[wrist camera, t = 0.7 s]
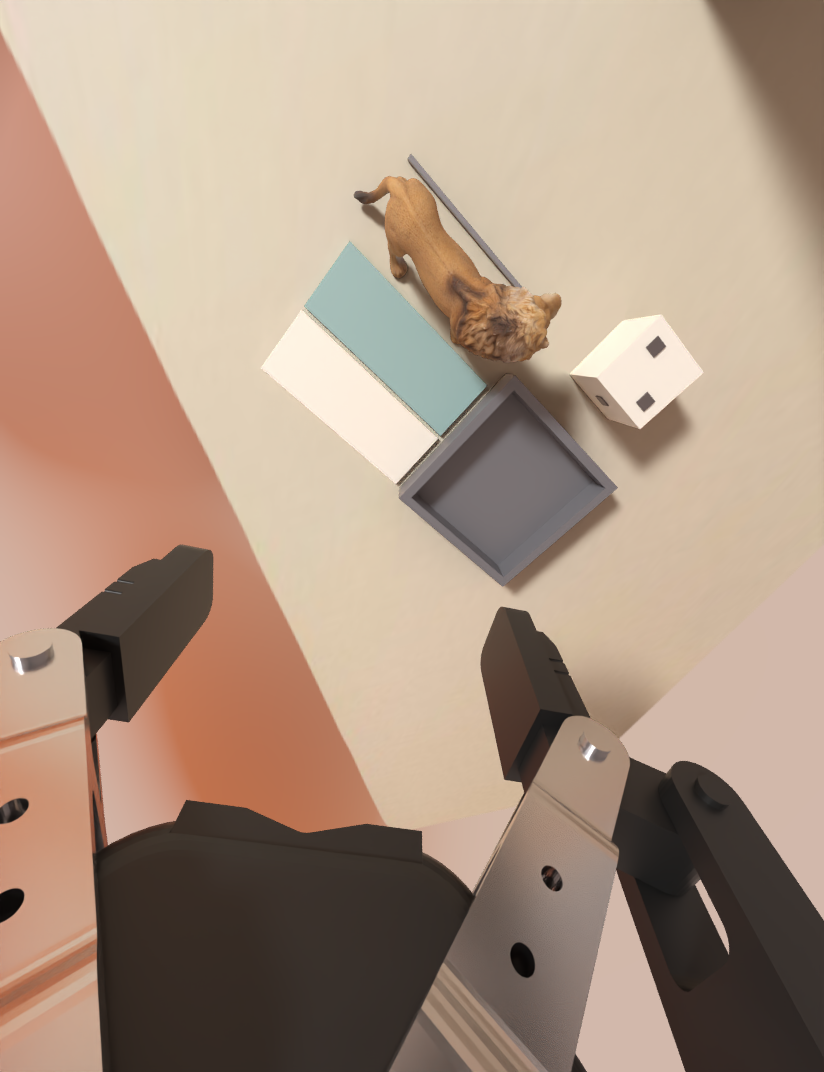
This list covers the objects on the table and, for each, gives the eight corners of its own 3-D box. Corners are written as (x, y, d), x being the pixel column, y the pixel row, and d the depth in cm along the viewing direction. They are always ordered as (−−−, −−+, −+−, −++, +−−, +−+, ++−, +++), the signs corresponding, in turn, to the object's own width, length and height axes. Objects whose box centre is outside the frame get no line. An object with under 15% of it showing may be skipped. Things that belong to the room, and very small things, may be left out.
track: (410, 155, 25) (410, 153, 25) (547, 319, 29) (548, 319, 29) (262, 367, 30) (260, 367, 30) (395, 483, 34) (395, 484, 34)
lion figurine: (539, 319, 29) (590, 305, 21) (490, 379, 31) (520, 389, 23) (377, 158, 26) (365, 65, 17) (331, 237, 27) (300, 187, 19)
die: (622, 320, 30) (662, 314, 25) (660, 370, 31) (705, 373, 26) (567, 375, 31) (596, 378, 26) (607, 420, 33) (640, 431, 28)
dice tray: (505, 373, 31) (515, 375, 28) (602, 477, 34) (617, 487, 32) (399, 487, 35) (398, 498, 32) (496, 571, 38) (502, 586, 36)
